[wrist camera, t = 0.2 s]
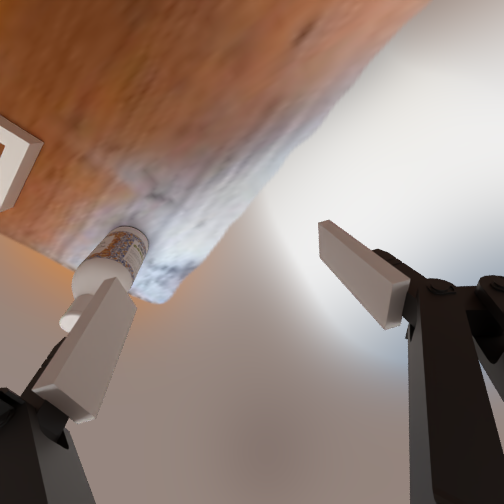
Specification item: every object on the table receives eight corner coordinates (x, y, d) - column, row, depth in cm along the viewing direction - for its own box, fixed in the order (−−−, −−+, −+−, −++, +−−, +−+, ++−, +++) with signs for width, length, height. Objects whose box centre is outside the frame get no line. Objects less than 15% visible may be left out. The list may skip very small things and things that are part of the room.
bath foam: (130, 218, 39) (71, 288, 22) (157, 247, 42) (125, 327, 25) (98, 237, 39) (17, 321, 22) (127, 265, 43) (77, 355, 26)
